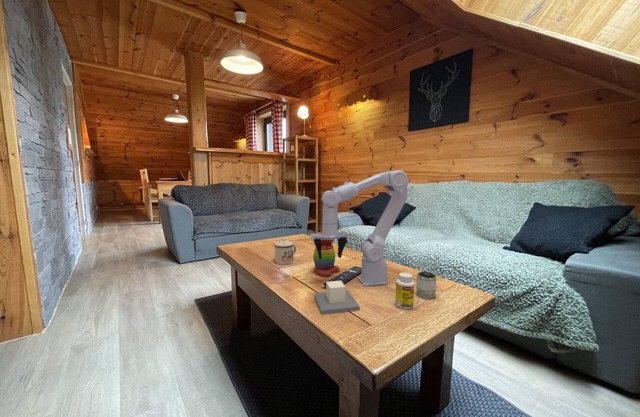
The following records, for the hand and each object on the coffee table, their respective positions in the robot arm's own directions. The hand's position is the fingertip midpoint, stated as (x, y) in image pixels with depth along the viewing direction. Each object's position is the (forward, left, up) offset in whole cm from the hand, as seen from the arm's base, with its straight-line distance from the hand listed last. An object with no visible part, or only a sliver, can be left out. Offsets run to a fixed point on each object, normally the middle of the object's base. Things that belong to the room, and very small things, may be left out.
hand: (329, 257), depth 100 cm
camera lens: (-30, +17, -10) cm, 36 cm away
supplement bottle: (-19, +22, -10) cm, 31 cm away
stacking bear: (-1, -12, -10) cm, 16 cm away
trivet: (+2, +16, -10) cm, 19 cm away
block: (+2, +16, -9) cm, 18 cm away
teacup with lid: (+14, -29, -10) cm, 34 cm away
